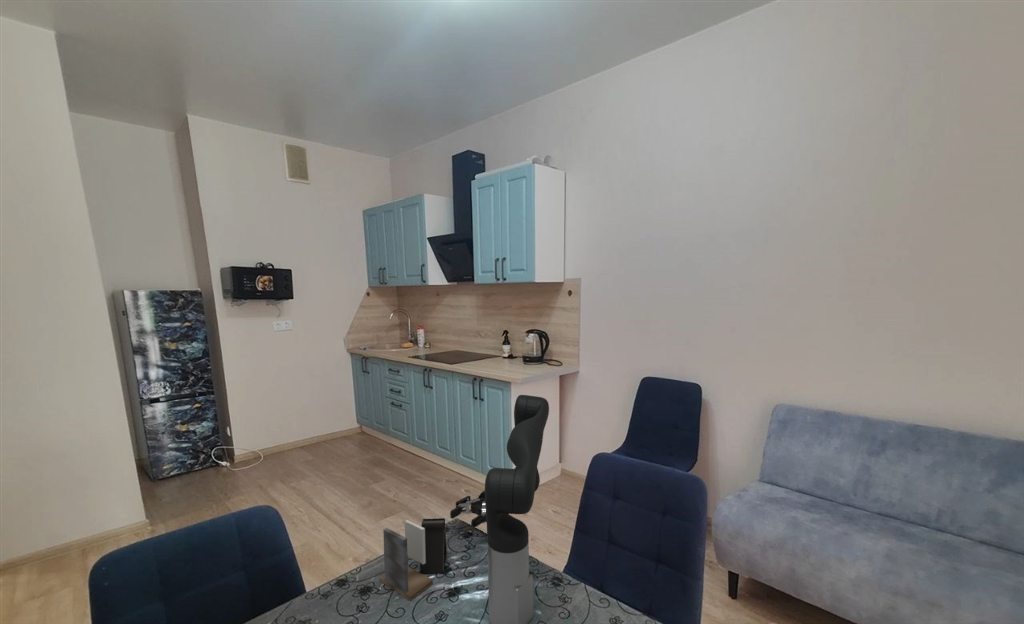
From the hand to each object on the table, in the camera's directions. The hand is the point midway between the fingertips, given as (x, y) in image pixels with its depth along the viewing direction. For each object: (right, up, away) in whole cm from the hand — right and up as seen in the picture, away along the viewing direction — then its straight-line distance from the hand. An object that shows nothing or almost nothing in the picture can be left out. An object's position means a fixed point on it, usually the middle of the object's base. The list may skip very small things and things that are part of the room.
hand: (461, 519), depth 119 cm
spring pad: (-11, -6, -13) cm, 18 cm away
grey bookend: (-12, -8, -16) cm, 21 cm away
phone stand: (-6, -8, -8) cm, 13 cm away
